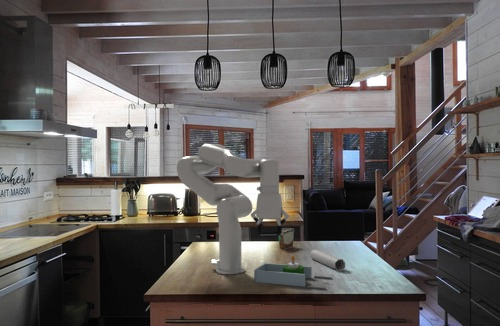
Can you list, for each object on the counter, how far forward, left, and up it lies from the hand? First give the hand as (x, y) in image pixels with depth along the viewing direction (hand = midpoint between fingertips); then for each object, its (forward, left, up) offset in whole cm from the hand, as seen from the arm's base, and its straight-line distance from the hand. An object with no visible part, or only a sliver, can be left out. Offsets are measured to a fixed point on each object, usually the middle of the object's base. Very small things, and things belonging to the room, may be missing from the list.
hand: (269, 234), depth 166 cm
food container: (-10, +60, -18) cm, 63 cm away
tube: (+17, +31, -18) cm, 40 cm away
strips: (+20, 0, -18) cm, 27 cm away
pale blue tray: (+6, 0, -18) cm, 18 cm away
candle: (+10, 0, -18) cm, 20 cm away
